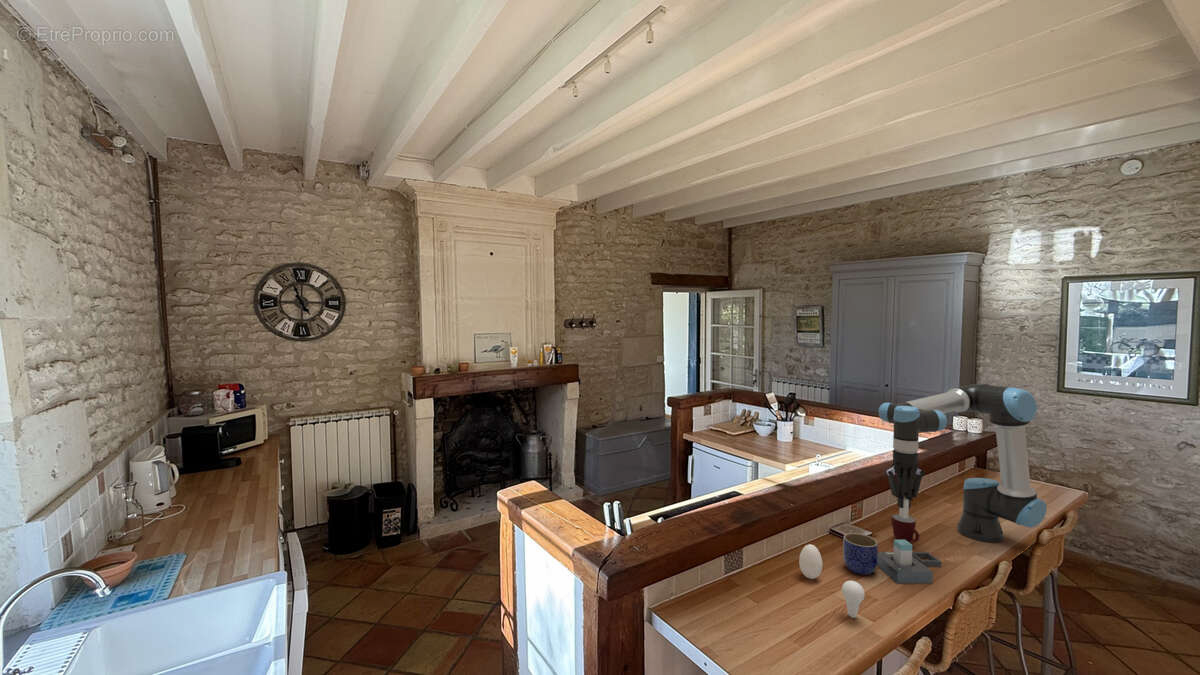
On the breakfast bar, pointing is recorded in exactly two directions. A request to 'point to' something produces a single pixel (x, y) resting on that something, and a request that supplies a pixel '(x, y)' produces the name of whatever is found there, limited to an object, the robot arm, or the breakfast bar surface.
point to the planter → (860, 553)
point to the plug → (902, 553)
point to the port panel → (904, 570)
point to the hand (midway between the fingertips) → (903, 516)
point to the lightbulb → (853, 596)
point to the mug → (904, 528)
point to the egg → (810, 561)
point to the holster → (931, 560)
